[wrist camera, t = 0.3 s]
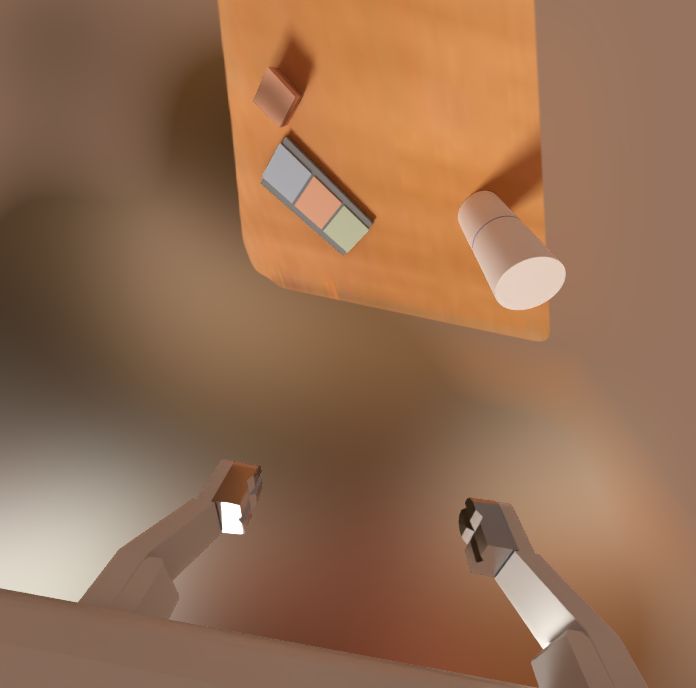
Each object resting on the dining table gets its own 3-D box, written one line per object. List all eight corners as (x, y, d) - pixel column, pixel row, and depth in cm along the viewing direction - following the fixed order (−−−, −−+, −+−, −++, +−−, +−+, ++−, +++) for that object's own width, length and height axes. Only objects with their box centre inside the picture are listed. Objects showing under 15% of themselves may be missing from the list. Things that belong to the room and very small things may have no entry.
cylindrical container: (471, 185, 46) (522, 248, 28) (509, 197, 46) (582, 267, 29) (450, 225, 51) (482, 301, 33) (484, 236, 51) (533, 316, 34)
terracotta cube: (277, 68, 38) (267, 66, 35) (303, 96, 40) (295, 97, 37) (263, 99, 41) (252, 101, 38) (287, 124, 43) (279, 127, 40)
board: (286, 134, 44) (283, 135, 43) (373, 222, 52) (373, 225, 51) (261, 180, 49) (258, 182, 48) (344, 253, 57) (343, 256, 56)
